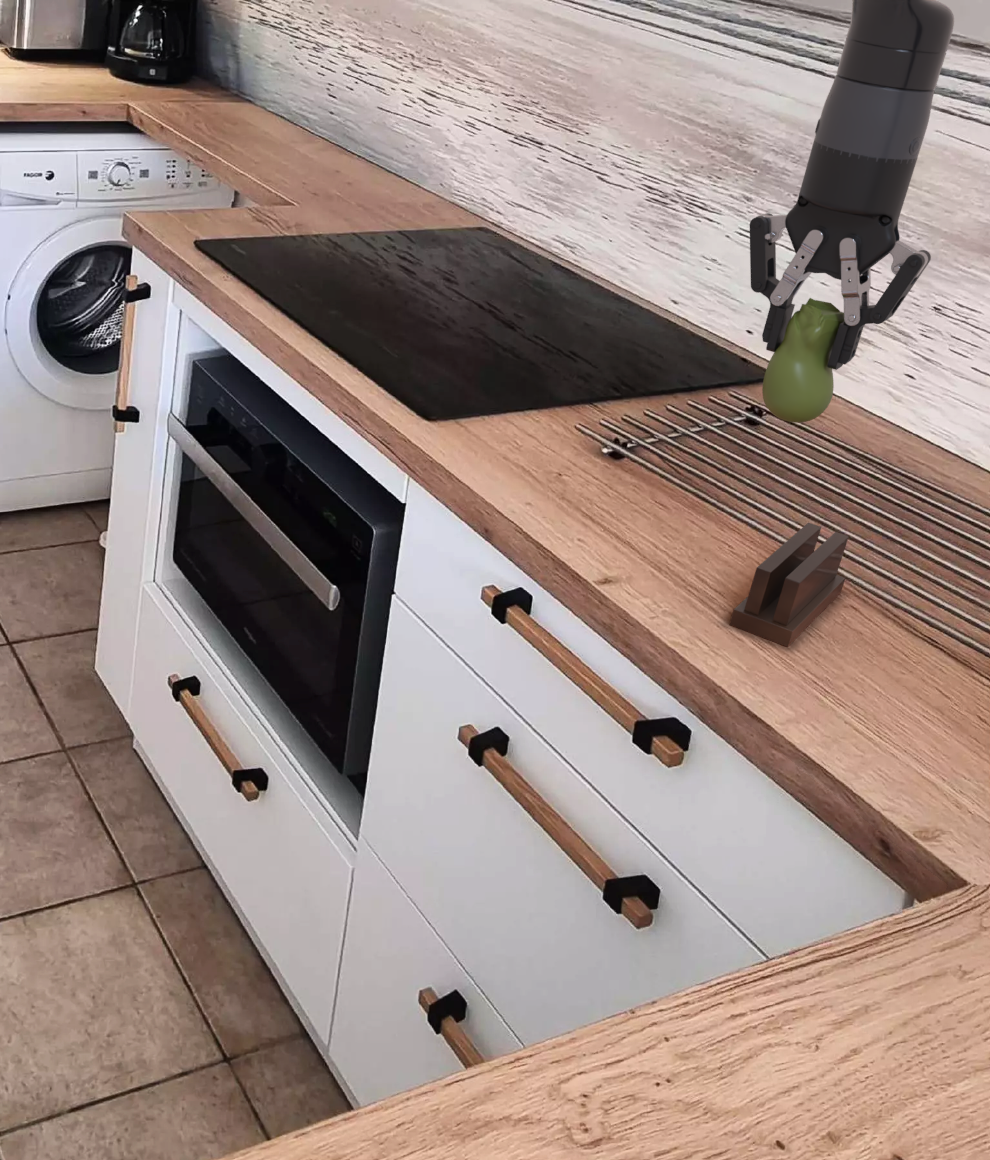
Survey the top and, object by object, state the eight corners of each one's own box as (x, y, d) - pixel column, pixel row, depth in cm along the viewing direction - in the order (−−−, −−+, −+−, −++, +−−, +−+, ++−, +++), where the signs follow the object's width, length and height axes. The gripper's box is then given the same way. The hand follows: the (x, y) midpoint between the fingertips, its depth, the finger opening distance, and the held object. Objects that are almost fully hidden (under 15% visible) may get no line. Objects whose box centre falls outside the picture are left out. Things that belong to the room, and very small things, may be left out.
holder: (840, 592, 134) (859, 536, 132) (787, 647, 124) (806, 588, 121) (785, 572, 137) (802, 517, 134) (728, 624, 126) (746, 566, 124)
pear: (782, 404, 128) (815, 289, 124) (836, 426, 125) (872, 308, 120) (741, 413, 125) (773, 295, 121) (795, 436, 122) (830, 316, 117)
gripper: (977, 158, 114) (906, 373, 122) (791, 120, 121) (735, 325, 129) (951, 170, 109) (879, 394, 116) (758, 129, 116) (702, 343, 124)
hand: (804, 357), depth 123 cm, fingers closed on pear, 4 cm apart
